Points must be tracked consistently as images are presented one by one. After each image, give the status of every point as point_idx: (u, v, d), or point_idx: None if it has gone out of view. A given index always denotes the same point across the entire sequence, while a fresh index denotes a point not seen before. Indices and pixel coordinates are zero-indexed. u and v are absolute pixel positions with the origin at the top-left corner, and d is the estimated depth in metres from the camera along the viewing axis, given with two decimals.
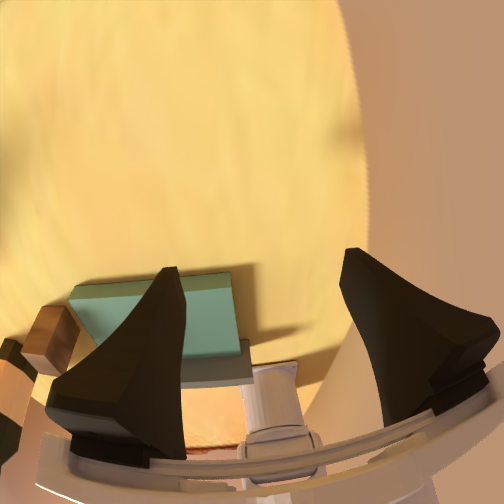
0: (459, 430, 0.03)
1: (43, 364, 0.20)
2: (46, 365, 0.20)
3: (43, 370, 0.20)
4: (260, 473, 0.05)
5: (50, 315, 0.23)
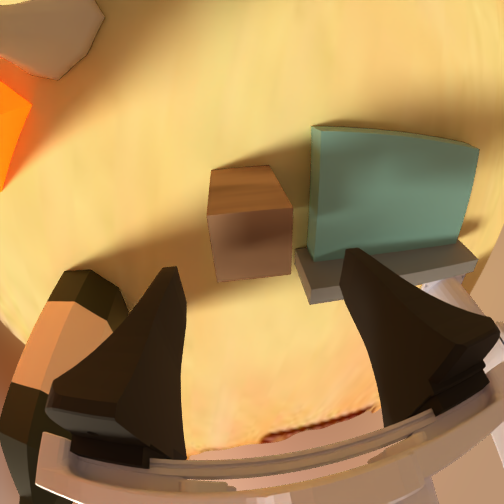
0: (459, 430, 0.03)
1: (259, 243, 0.14)
2: (270, 244, 0.14)
3: (241, 265, 0.14)
4: (260, 473, 0.05)
5: (246, 173, 0.17)
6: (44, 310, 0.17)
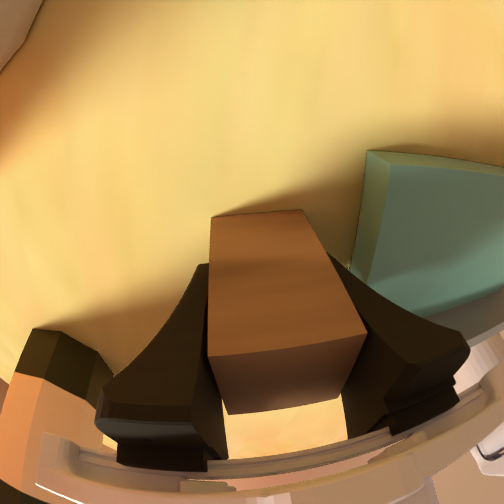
0: (459, 430, 0.03)
1: (299, 379, 0.07)
2: (317, 378, 0.07)
3: (267, 401, 0.08)
4: (260, 473, 0.05)
5: (269, 229, 0.11)
6: (12, 385, 0.11)
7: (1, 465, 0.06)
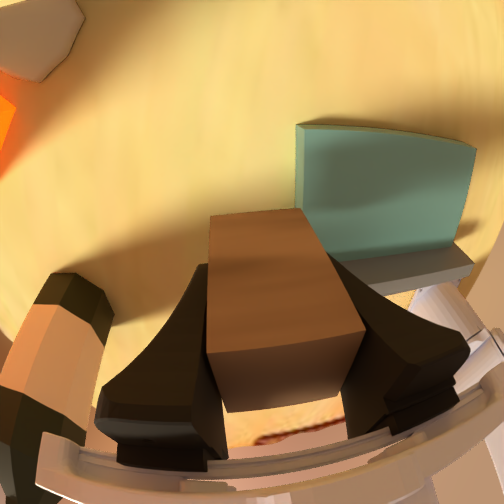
0: (459, 430, 0.03)
1: (298, 377, 0.07)
2: (316, 375, 0.07)
3: (266, 398, 0.08)
4: (260, 473, 0.05)
5: (268, 227, 0.11)
6: (30, 313, 0.16)
7: (9, 375, 0.11)
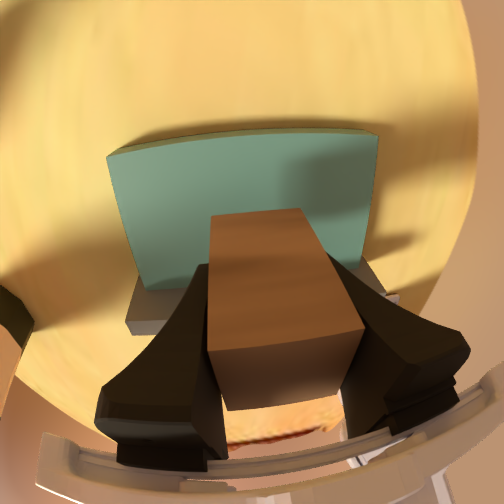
0: (459, 430, 0.03)
1: (298, 375, 0.07)
2: (315, 373, 0.07)
3: (266, 396, 0.08)
4: (260, 473, 0.05)
5: (268, 227, 0.11)
6: None
7: None
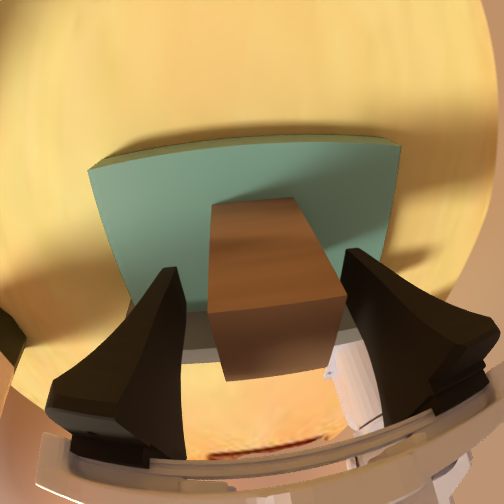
0: (459, 430, 0.03)
1: (289, 342, 0.08)
2: (305, 341, 0.09)
3: (261, 365, 0.09)
4: (260, 473, 0.05)
5: (263, 213, 0.12)
6: None
7: None
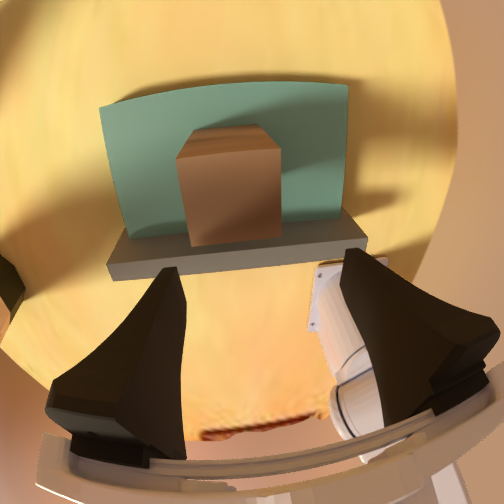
0: (459, 430, 0.03)
1: (240, 195, 0.11)
2: (254, 196, 0.11)
3: (220, 224, 0.11)
4: (260, 473, 0.05)
5: (231, 129, 0.14)
6: None
7: None
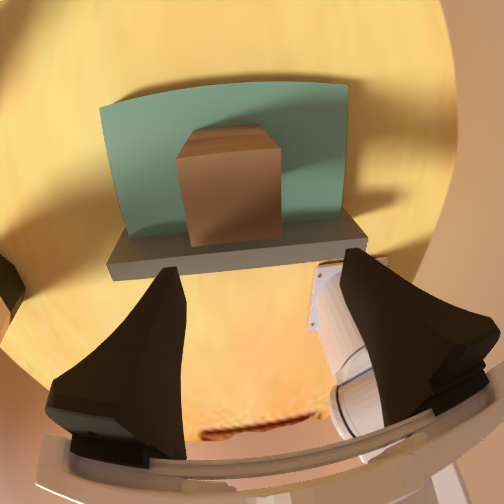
0: (459, 430, 0.03)
1: (240, 195, 0.11)
2: (254, 196, 0.11)
3: (220, 224, 0.11)
4: (260, 473, 0.05)
5: (231, 129, 0.14)
6: None
7: None
